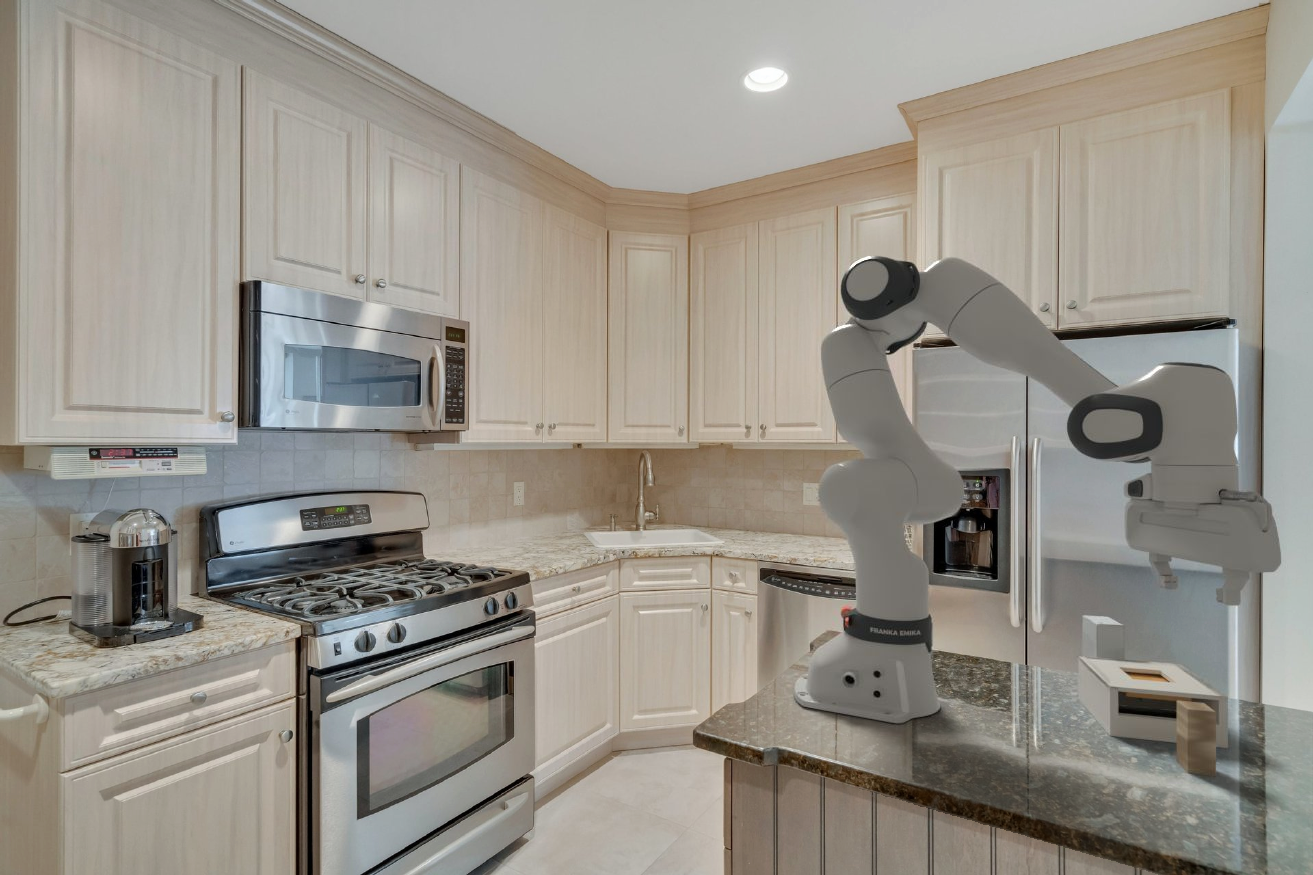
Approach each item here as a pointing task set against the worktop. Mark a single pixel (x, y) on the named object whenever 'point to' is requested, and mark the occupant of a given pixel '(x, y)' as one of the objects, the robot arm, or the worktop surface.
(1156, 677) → the button
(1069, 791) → the worktop surface
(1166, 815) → the worktop surface
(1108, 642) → the skincare box
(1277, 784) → the worktop surface
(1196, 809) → the worktop surface
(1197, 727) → the brown wooden block
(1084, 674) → the box
